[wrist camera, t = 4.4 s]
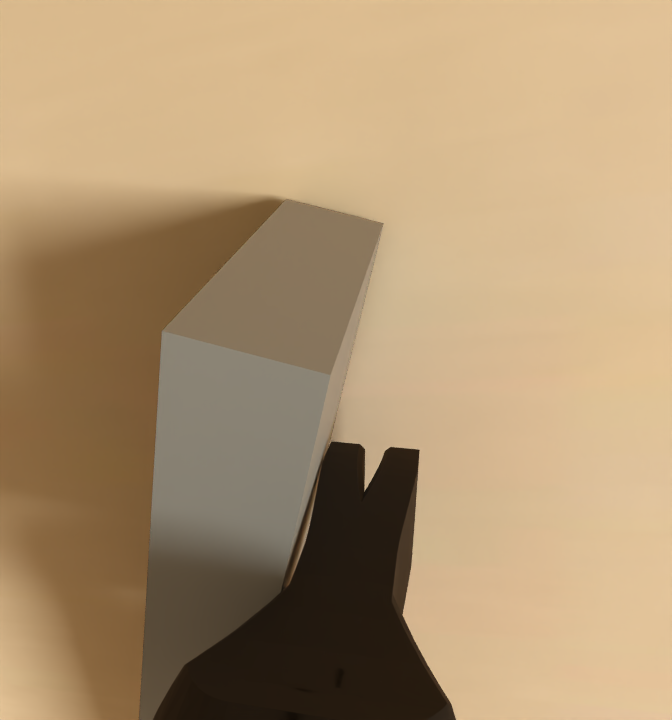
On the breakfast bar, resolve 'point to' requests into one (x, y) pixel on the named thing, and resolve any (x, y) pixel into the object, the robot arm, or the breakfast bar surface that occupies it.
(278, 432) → the swing leaf
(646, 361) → the breakfast bar surface
